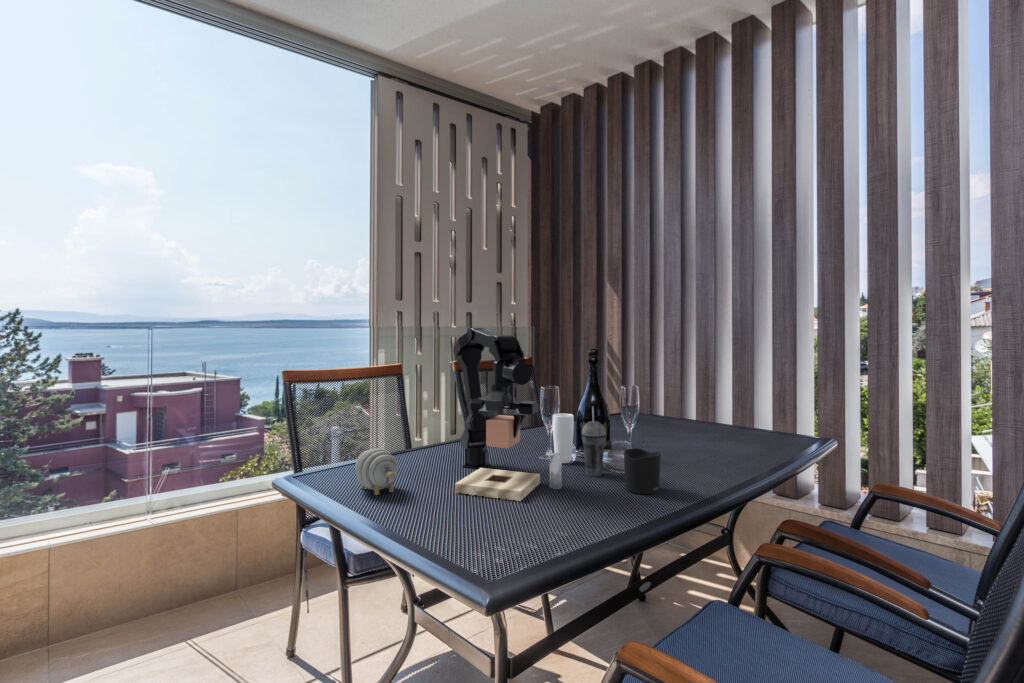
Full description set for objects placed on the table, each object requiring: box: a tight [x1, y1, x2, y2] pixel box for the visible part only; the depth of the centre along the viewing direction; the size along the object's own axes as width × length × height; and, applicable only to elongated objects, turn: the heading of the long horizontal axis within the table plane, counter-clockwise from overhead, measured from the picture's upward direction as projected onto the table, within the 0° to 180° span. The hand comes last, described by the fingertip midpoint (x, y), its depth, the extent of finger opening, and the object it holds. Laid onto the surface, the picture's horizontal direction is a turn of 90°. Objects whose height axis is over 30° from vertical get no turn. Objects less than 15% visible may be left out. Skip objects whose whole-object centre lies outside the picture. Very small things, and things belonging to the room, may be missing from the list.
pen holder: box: [623, 447, 662, 495], centre depth 139 cm, size 9×9×10 cm
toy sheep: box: [354, 448, 399, 496], centre depth 138 cm, size 11×17×11 cm, turn 46°
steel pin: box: [549, 452, 563, 490], centre depth 141 cm, size 3×3×9 cm
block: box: [486, 414, 521, 449], centre depth 146 cm, size 6×9×7 cm
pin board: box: [454, 467, 541, 502], centre depth 140 cm, size 18×16×2 cm
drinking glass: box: [551, 412, 575, 464], centre depth 167 cm, size 7×7×15 cm
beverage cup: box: [581, 406, 608, 477], centre depth 153 cm, size 7×7×20 cm
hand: (503, 436), depth 146 cm, fingers closed on block, 6 cm apart
